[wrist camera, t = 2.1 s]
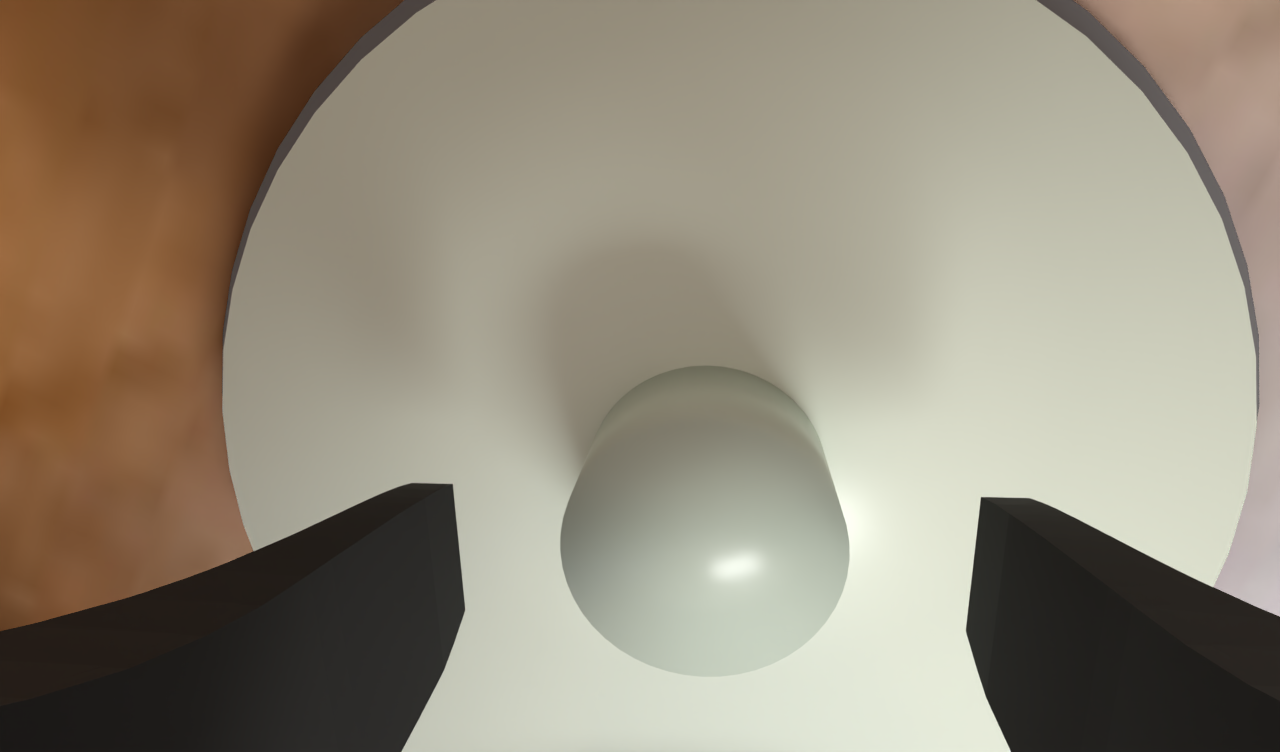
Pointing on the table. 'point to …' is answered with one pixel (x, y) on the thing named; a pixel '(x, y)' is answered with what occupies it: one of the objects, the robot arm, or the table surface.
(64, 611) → the table surface
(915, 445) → the lid
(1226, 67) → the table surface
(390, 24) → the mat
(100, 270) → the table surface
